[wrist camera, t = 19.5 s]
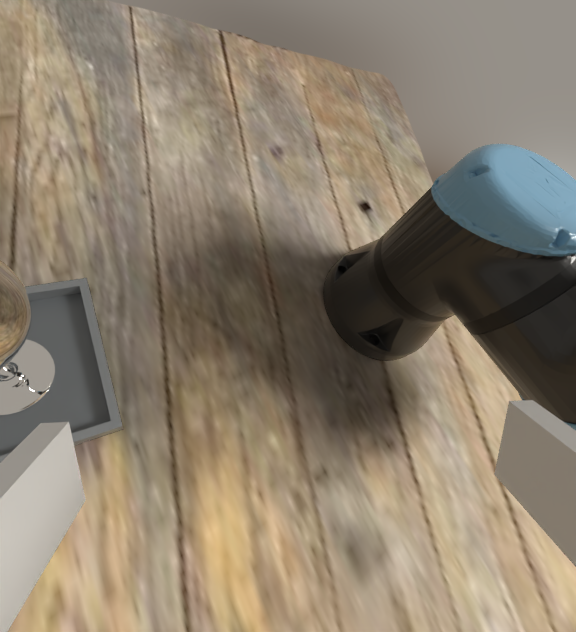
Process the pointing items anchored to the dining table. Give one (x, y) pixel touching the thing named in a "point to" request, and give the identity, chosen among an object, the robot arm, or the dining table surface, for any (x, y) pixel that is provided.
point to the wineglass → (20, 350)
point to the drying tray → (67, 368)
